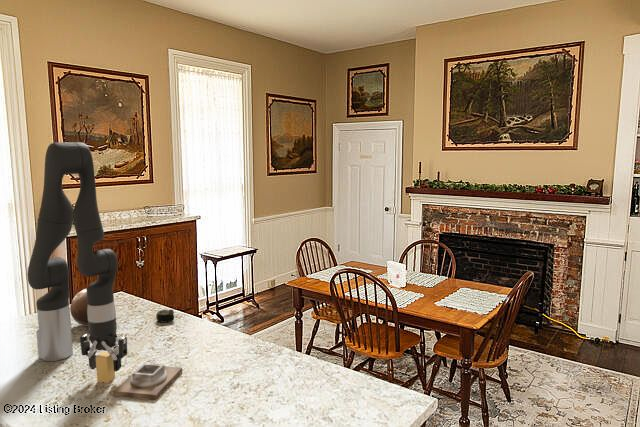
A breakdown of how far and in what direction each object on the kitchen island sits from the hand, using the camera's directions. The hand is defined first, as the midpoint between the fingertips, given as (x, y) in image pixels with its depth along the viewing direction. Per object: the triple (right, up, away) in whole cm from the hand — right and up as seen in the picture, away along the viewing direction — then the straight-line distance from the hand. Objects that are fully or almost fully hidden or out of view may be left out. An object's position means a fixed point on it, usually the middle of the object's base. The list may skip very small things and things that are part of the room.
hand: (105, 369), depth 137 cm
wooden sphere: (-25, +3, +42) cm, 49 cm away
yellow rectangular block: (0, -3, 0) cm, 3 cm away
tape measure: (+3, +3, +48) cm, 48 cm away
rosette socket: (+14, -4, -2) cm, 14 cm away
